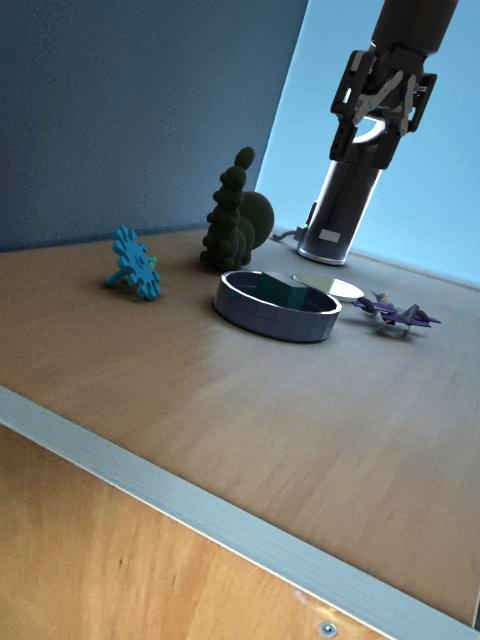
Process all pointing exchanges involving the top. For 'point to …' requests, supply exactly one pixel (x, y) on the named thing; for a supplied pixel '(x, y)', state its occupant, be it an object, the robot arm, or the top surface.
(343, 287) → the plate
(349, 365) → the top surface
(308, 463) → the top surface
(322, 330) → the bowl
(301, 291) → the teal rectangular block
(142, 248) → the gear
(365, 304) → the toy airplane
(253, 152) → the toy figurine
